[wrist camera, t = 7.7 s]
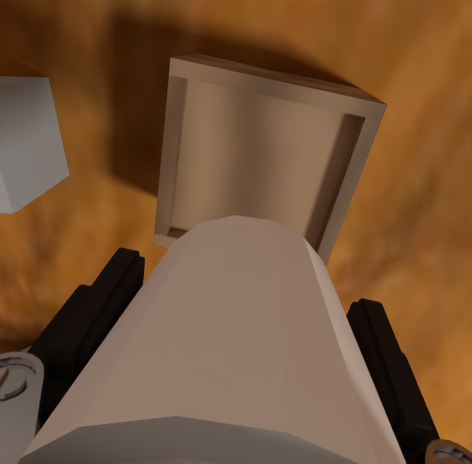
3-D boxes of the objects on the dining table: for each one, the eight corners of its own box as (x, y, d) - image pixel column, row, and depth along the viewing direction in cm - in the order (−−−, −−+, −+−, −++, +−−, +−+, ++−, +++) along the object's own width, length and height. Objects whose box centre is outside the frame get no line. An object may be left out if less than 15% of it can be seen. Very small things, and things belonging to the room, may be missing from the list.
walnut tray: (361, 88, 23) (387, 104, 18) (312, 234, 29) (320, 279, 23) (193, 52, 23) (170, 57, 18) (175, 205, 29) (153, 244, 23)
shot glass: (379, 334, 12) (486, 633, 6) (205, 385, 14) (153, 649, 8) (298, 155, 10) (341, 361, 4) (98, 248, 12) (-98, 484, 5)
